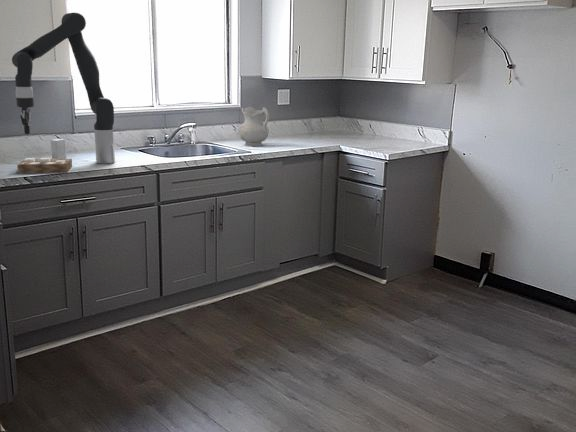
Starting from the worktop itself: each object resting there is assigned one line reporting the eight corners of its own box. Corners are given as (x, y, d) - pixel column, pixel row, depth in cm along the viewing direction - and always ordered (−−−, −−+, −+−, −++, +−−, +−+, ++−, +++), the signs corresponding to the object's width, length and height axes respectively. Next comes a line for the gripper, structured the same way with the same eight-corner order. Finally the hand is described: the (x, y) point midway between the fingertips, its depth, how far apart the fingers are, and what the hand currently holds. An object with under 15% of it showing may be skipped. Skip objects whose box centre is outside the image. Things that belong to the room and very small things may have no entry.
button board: (72, 166, 305) (71, 157, 304) (67, 172, 290) (66, 163, 288) (25, 167, 301) (24, 158, 299) (18, 173, 285) (17, 163, 284)
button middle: (50, 161, 296) (50, 157, 296) (49, 163, 293) (48, 159, 292) (41, 161, 296) (41, 157, 295) (40, 163, 292) (39, 159, 291)
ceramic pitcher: (276, 146, 394) (278, 107, 390) (263, 147, 377) (264, 107, 372) (246, 144, 403) (248, 106, 398) (232, 145, 385) (233, 105, 381)
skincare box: (60, 161, 318) (58, 138, 315) (66, 162, 317) (65, 139, 314) (51, 163, 313) (50, 140, 310) (58, 164, 311) (56, 140, 308)
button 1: (35, 162, 295) (35, 157, 295) (33, 163, 291) (33, 159, 291) (26, 162, 294) (26, 158, 294) (24, 163, 291) (24, 159, 290)
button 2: (65, 164, 298) (65, 160, 298) (64, 165, 294) (64, 161, 294) (57, 164, 297) (56, 160, 297) (55, 165, 294) (55, 161, 293)
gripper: (30, 97, 279) (33, 135, 283) (36, 96, 292) (38, 132, 296) (12, 97, 278) (15, 135, 282) (19, 95, 290) (22, 132, 295)
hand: (27, 133), depth 289 cm, fingers closed
